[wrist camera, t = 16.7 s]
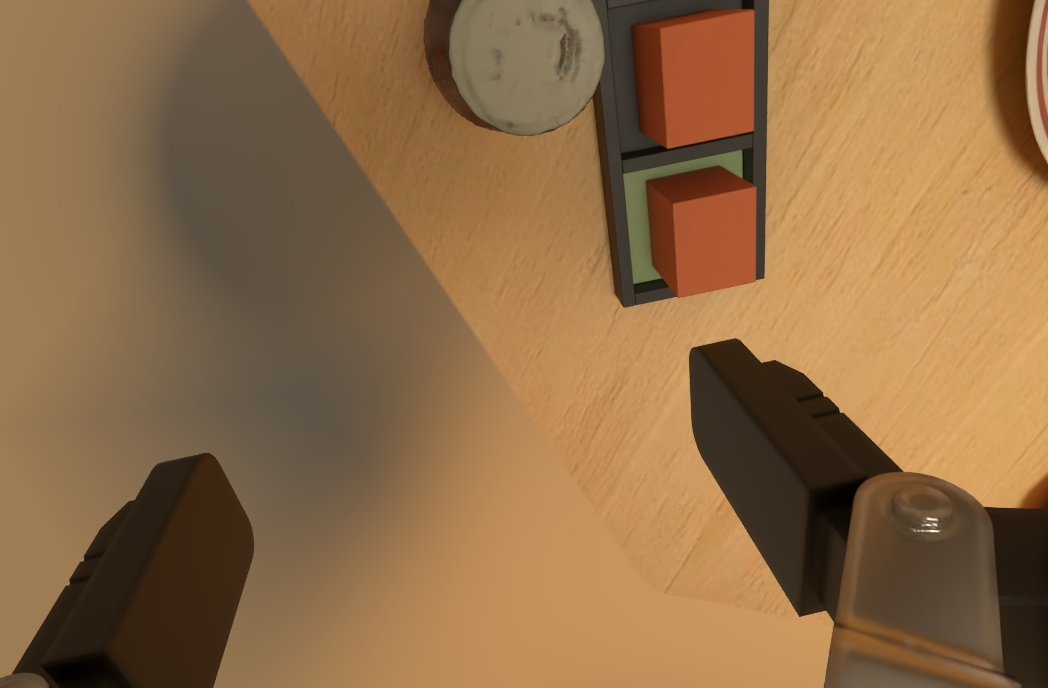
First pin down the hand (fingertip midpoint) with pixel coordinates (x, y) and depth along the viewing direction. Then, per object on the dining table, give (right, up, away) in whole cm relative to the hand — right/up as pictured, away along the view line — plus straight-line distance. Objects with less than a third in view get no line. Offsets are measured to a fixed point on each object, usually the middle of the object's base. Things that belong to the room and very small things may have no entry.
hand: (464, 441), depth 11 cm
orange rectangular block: (+9, +17, +24) cm, 31 cm away
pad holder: (+10, +13, +26) cm, 31 cm away
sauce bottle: (-1, +18, +23) cm, 29 cm away
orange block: (+11, +9, +28) cm, 31 cm away
